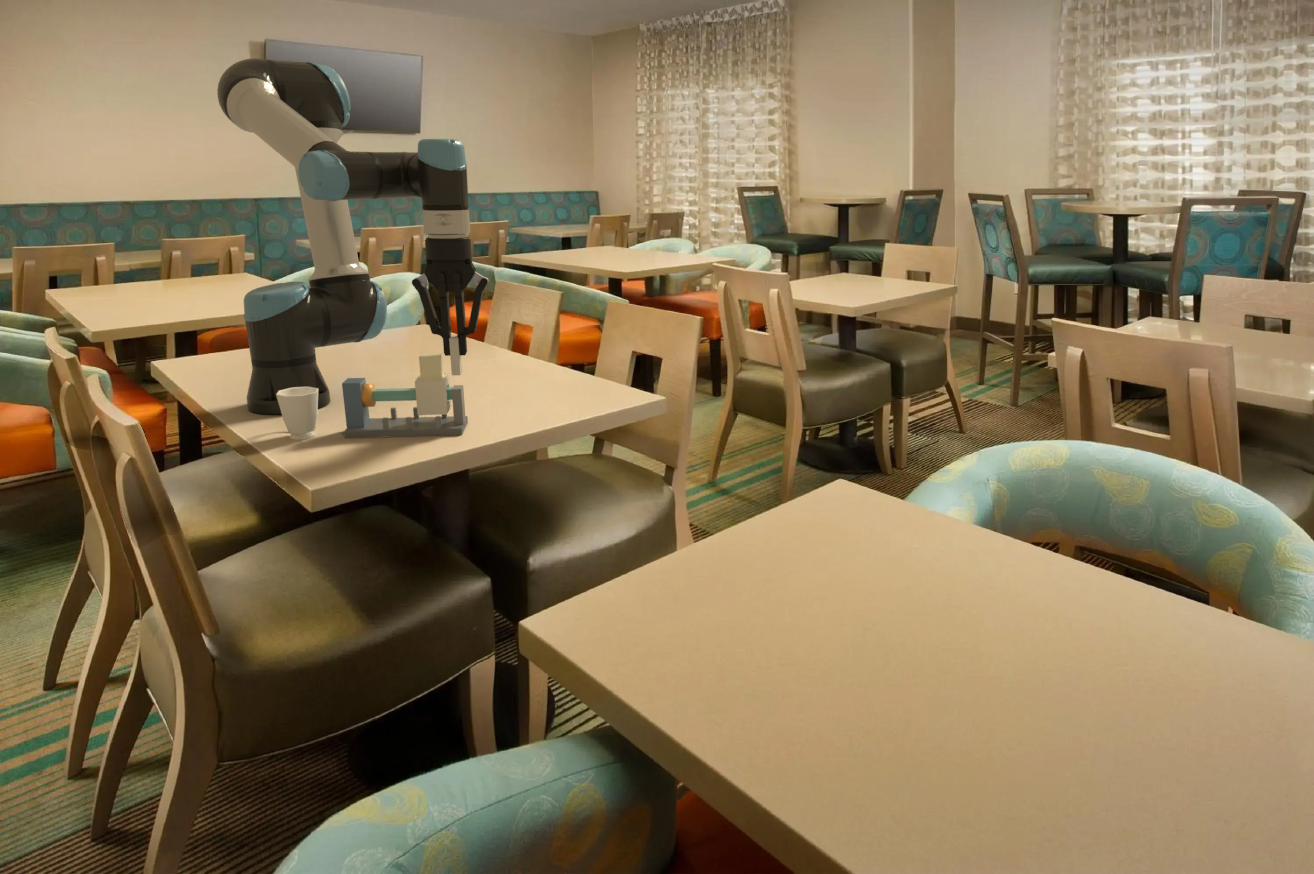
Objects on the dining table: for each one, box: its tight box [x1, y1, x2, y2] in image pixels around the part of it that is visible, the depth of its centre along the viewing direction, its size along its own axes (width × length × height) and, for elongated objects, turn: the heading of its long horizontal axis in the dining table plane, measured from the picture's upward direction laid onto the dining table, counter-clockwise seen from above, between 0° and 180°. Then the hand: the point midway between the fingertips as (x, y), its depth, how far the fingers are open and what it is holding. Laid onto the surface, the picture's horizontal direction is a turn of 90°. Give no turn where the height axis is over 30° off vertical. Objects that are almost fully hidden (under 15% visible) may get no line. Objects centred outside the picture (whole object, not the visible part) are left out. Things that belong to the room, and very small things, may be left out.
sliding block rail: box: [341, 377, 469, 439], centre depth 154 cm, size 20×8×9 cm, turn 95°
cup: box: [276, 387, 319, 441], centre depth 152 cm, size 7×10×8 cm
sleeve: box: [414, 352, 453, 416], centre depth 154 cm, size 5×6×10 cm
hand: (457, 373), depth 154 cm, fingers closed
